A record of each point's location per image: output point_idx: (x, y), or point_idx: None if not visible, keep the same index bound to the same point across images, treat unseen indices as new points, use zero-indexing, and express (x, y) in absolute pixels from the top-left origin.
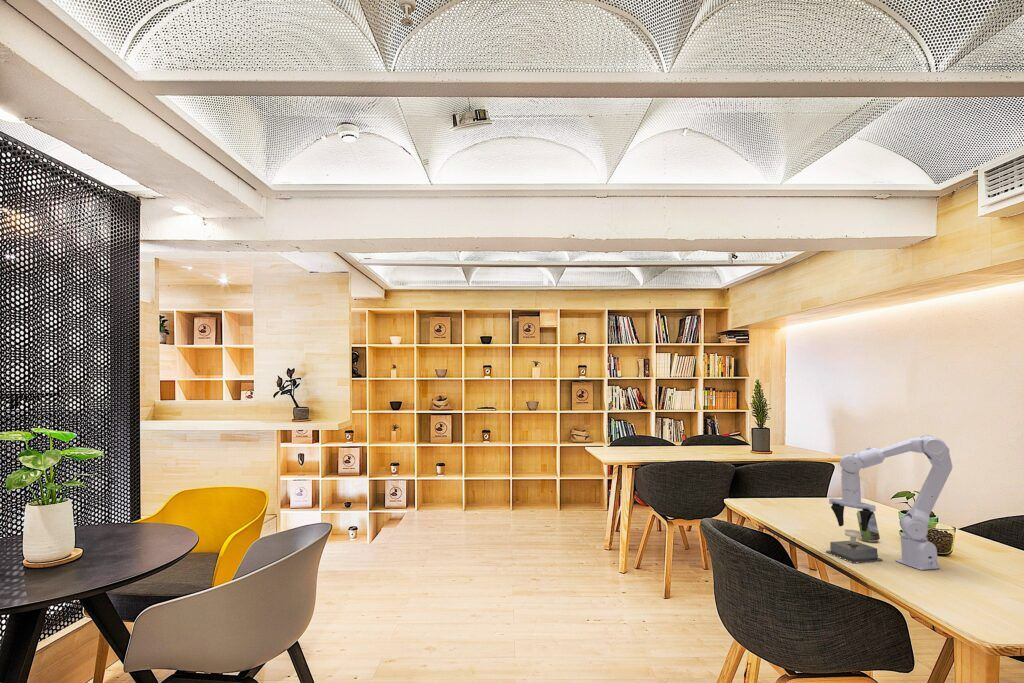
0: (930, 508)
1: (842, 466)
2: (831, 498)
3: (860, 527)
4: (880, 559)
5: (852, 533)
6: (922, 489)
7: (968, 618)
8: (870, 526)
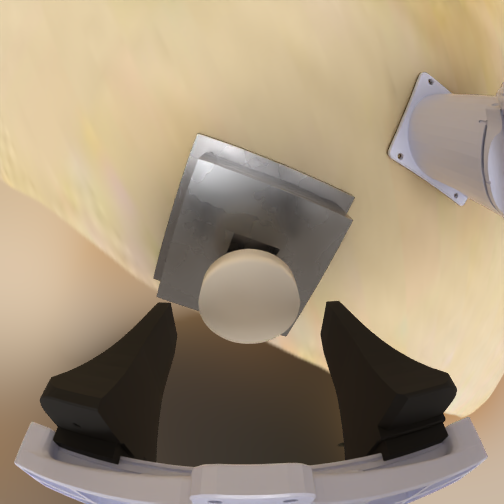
0: None
1: None
2: (39, 480)
3: None
4: (349, 206)
5: (265, 338)
6: None
7: (474, 388)
8: None
